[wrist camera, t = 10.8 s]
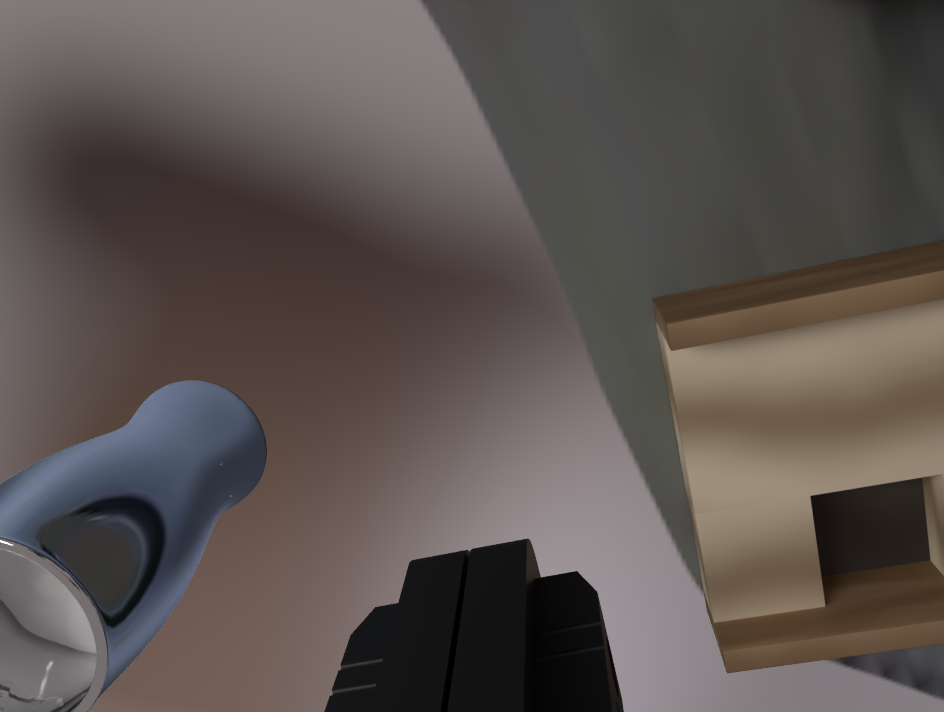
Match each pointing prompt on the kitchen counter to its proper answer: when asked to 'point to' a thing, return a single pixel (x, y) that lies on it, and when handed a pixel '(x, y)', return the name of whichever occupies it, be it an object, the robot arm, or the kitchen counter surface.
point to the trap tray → (815, 454)
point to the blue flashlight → (114, 541)
